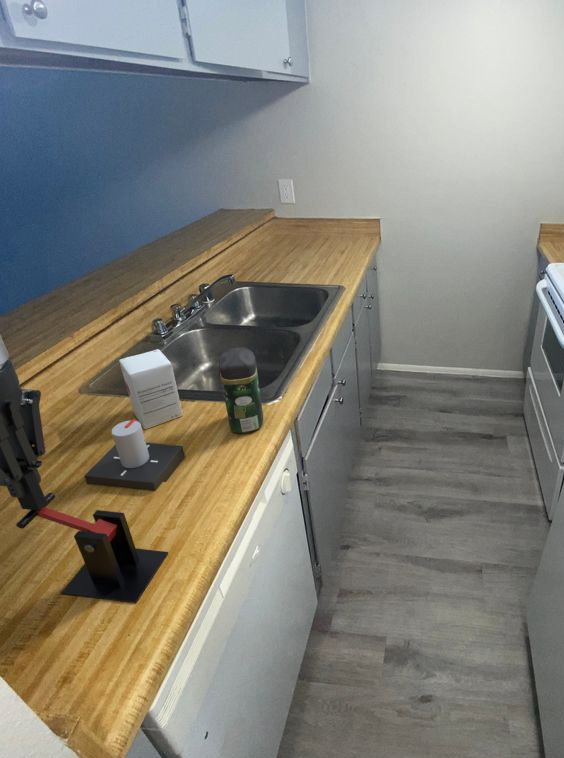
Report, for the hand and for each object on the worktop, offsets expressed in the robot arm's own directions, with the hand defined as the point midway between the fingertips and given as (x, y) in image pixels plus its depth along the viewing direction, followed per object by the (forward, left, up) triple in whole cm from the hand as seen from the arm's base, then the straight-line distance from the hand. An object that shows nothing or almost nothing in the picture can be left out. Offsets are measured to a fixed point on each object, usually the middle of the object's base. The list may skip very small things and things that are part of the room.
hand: (34, 505), depth 70 cm
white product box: (-9, +42, -14) cm, 45 cm away
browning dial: (-2, +23, -11) cm, 26 cm away
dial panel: (-2, +23, -14) cm, 27 cm away
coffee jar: (+13, +42, -14) cm, 46 cm away
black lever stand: (+9, 0, -14) cm, 17 cm away
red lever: (+5, 0, -4) cm, 6 cm away
